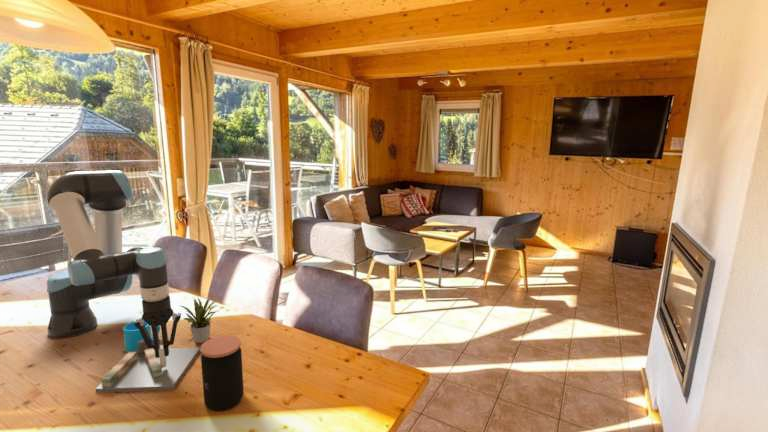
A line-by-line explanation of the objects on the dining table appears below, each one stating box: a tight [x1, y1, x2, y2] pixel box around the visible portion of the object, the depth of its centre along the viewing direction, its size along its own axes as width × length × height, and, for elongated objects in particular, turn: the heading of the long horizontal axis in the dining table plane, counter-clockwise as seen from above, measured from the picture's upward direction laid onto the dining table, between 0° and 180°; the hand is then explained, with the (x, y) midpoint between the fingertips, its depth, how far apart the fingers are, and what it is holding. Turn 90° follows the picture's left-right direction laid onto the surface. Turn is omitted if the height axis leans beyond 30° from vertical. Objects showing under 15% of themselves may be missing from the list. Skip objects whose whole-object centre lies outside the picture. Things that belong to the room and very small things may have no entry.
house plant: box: [180, 296, 220, 344], centre depth 144 cm, size 14×14×16 cm
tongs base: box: [100, 340, 146, 387], centre depth 125 cm, size 20×5×4 cm, turn 5°
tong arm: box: [144, 348, 162, 378], centre depth 126 cm, size 15×2×2 cm, turn 40°
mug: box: [122, 320, 161, 352], centre depth 141 cm, size 12×8×8 cm
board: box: [95, 347, 201, 393], centre depth 126 cm, size 22×22×1 cm
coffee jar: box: [199, 334, 244, 412], centre depth 111 cm, size 11×11×18 cm
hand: (163, 365), depth 124 cm, fingers closed
